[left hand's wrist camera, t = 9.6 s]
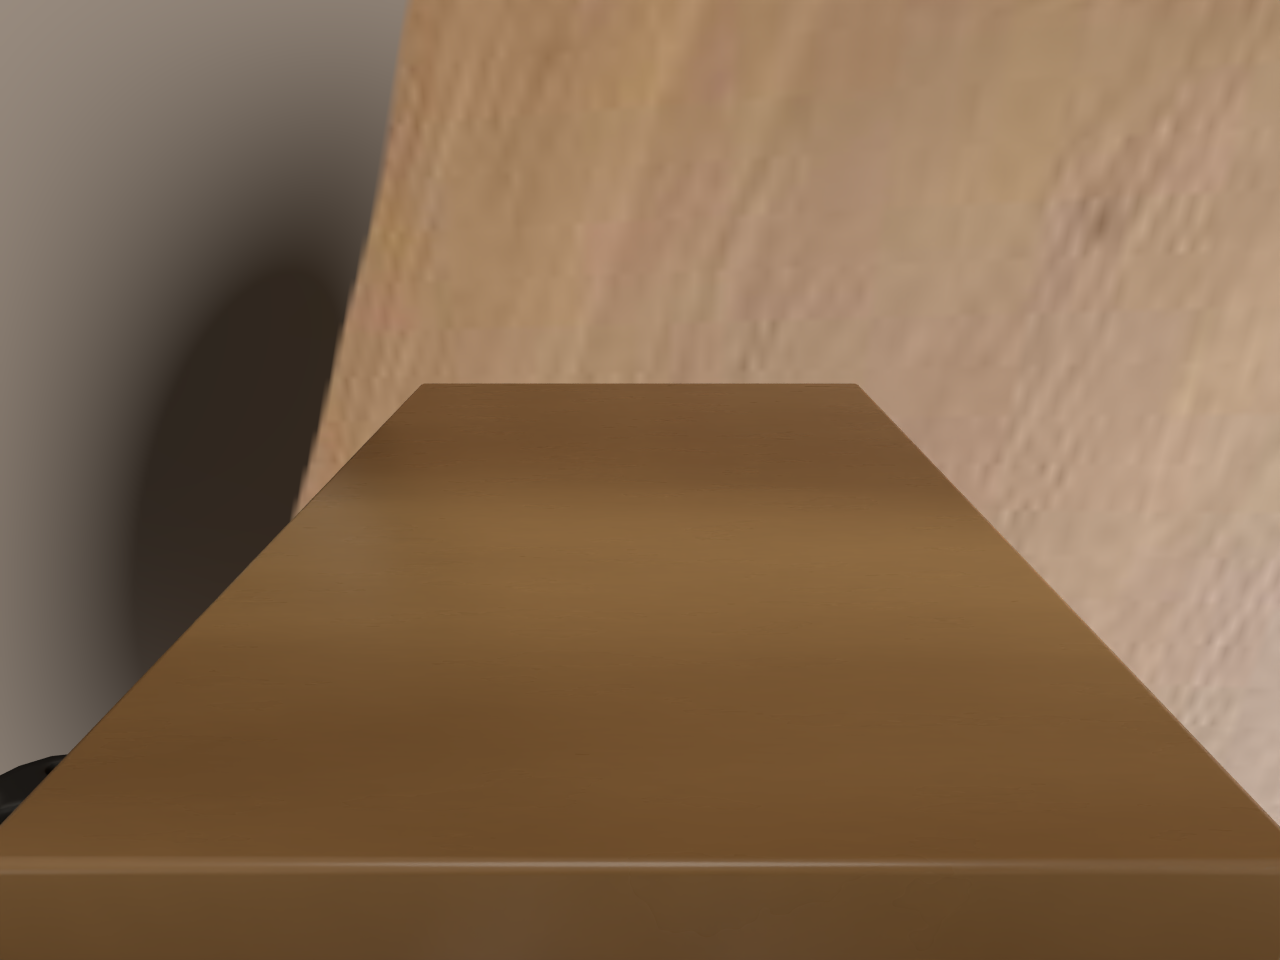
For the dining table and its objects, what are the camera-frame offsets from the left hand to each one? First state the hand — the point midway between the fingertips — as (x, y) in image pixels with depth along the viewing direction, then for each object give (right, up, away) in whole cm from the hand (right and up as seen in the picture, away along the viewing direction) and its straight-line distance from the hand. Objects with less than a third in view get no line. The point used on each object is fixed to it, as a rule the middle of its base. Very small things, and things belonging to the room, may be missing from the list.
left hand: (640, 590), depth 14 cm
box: (0, -8, +5) cm, 10 cm away
